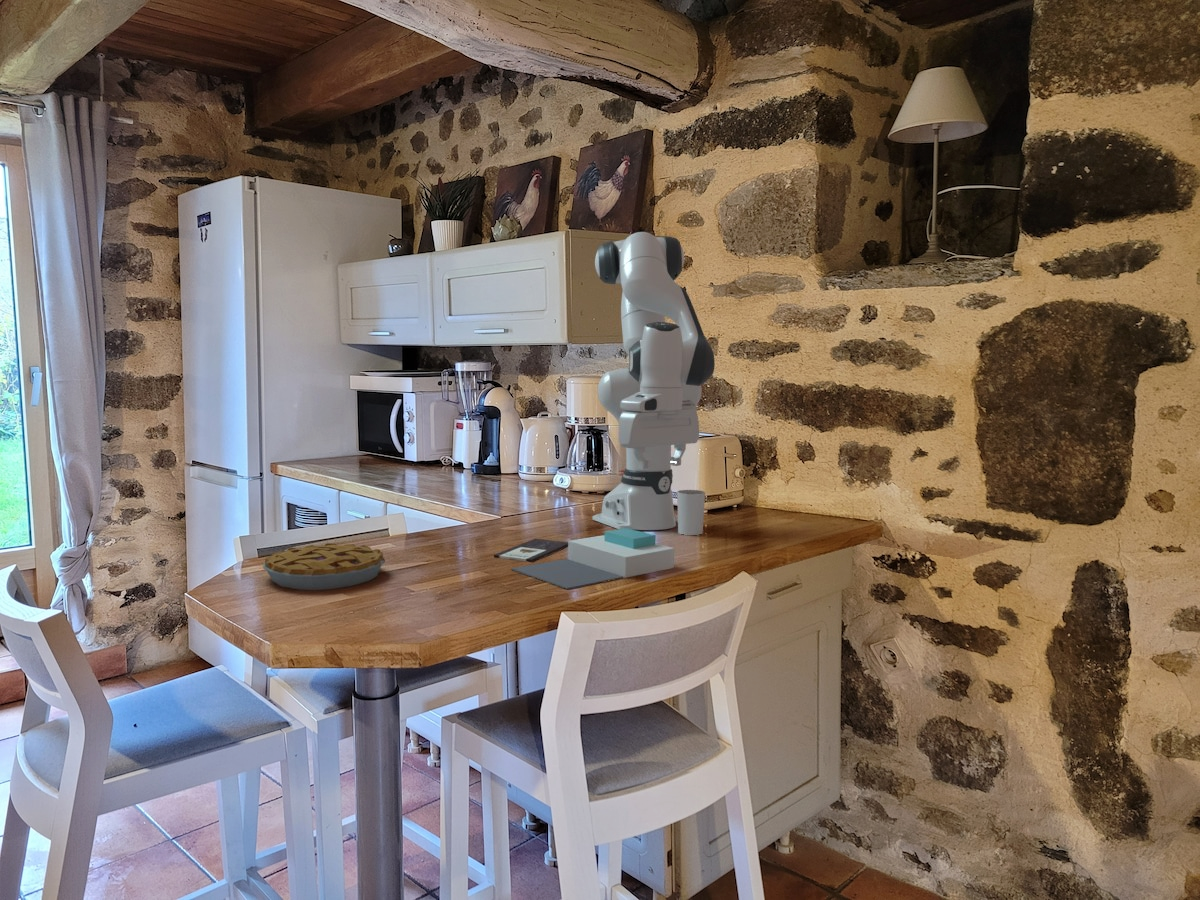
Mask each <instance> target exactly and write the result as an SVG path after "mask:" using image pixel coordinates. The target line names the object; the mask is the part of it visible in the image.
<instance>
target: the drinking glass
mask: <svg viewBox="0 0 1200 900" xmlns="http://www.w3.org/2000/svg"><path fill="white" fill-rule="evenodd" d="M676 496H677V527H678V528H677V533H678V535H681V534H684V535H683V536H687V535H697V536H700V535H699V534H702V535H703V528H704V517H705V516H704V515H705V501H706V500H705V499H706V492H705V491H703V490H698V489H682V490H681V489H680V490H677V493H676Z"/></svg>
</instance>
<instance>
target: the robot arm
mask: <svg viewBox="0 0 1200 900" xmlns="http://www.w3.org/2000/svg"><path fill="white" fill-rule="evenodd" d="M684 263H685V252H684V249H683V246H682V245H681V241H680V240H679V239H678V238H677V237H674V236H673V237H672V236H667V235H664V236H662V237H660V236H655V235H654V234H652V233H650V232H646V231H638V232H637V231H636V232H634V233H632V234H630V235H629V236H627V237H626V238H625V239H620V240H617V241H613V240H609V241H606V242H603V243H601V244H600V246H598V247H597V251H596V254H595V259H594V267H595V271H596V273H597V276H598V277H599V280H601V282H602V283H604V284H606V285H607V284H609V285H616V284H621V285H620V286H621V289H622V293H621V300H620V301H621V303H620V322H621V330H622V332H621V333H622V344H623V349H624V350H625V352H626V355H628V356H629V359H628V360H629V361H628V362H629V363H628V367H627V368H626V367H624V368H619V369H614V370H609V371H606V372H605V373H604V374H603V375H602V376H601V378H600V380H599V382H598V384H597V385H598V386H597V396H598V401H599V402H600V404H601V406H602V407H603V408H604V409H605V410H606V411H608V412H609V413H610V414H611V415H612V416H613V417H614V418H615V419H616V420H617V422H618V443H619V446H621V447H622V448H625V455H626V457H625V458H626V459H625V462H626V463H625V464H626V465H625V469H621V470H618V472H621V473H619V474H618V476H621V479H620V483H619V484H618V485H617V486H615V488H613V489H612V490H611V491H610V492H608V493H607V494H606V495H605V496H604V497H603V501H602V504H601V505H602V507H601V512H600V513H596V514H594V515H592V521H596V522H597V523H601V524H603V525H607V526H608V527H611V528H614V529H616V530H617V529H624V528H628V529H632V530H636V531H659V530H660V531H661V530H668V529H669V530H670V529H673V528H675V527H677V523H676V522H677V518H676V516H675V512H674V510H675V509H674V500H673V499H674V498H673V491H672V484H673V478H674V475H673V469H672V467H671V466H674V467H678V466H681V465H682V457H683V456H684V453H685V451H686V449H687V448H686V447H687V445H689V444H697V442H698V441H699V439H700V426H699V425H700V424H699V422H700V421H699V416H698V413H697V411H698V409H697V408H698V407H697V406H698V404H699V403H700V400H701V398H702V393H703V392H702V389H703V388H702V385H703V384H704V383H706V382H707V381H709V379H711V377H712V376H714V375H713V374H714V372H715V366H716V365H715V363H716V361H715V354H714V351H713V348H712V346H711V344H710V342H709V341H708V340H707V337H706V336H705V334H704V331H703V328H702V326H701V324H700V322H699V321H700V320H699V319H698V316H697V312H696V310H695V308H694V306H693V305H694V304H693V303H692V301H691V299H690V296H689V294H688V292H687V291H686V289H685V288H684V287H682V286H681V285H679V284H678V283H677V282H675V280H676V279H677V278H678V277H679V276H680V275H681V273H682V270H683V267H684ZM666 318H668V319H670V320H671V321H672V322H673V323H672V322H668V321H667V322H666ZM672 446H674V447H673V449H675V451H674V453H673V456H672Z"/></svg>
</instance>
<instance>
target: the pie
mask: <svg viewBox="0 0 1200 900" xmlns="http://www.w3.org/2000/svg"><path fill="white" fill-rule="evenodd" d="M385 562H386V559H385V557H384V552H382V551H381V550H380V549H377V548H375V549H372V548H371V547H370V546H368V545H365V544H363V545H360V546H356V545H355V544H353V543H352V544H344V545H338V544H336V543H325V545H320V546H317V545H313V544H312V545H311V544H309V545H306V546H305V547H301V548H296V547H288V548H287V550H285V551H282V552H281V551H277V552H275V553H271V555H270V556H266V557H265V559H264V561H263V566H262V568H263V570H265V571H266V572H267V574H268V575H269V577H270V579H271V580H272V582H273V583H275V584H277V585H278V586H279V587H283V588H288V589H293V590H300V591H301V590H304V591H305V590H306V591H321V590H334V589H339V588H340V589H341V588H346V587H351V586H357V585H359V584H363V583H366V582H370V581H372V580H373V579H374V578H376V577H378V574H379V573H380V570H381V567H382V566H383V564H384V563H385Z"/></svg>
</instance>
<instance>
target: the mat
mask: <svg viewBox="0 0 1200 900" xmlns="http://www.w3.org/2000/svg"><path fill="white" fill-rule="evenodd" d="M511 571H513V572H516V573H518V574H521V575H525V576H527V575H528V576H527V577H530V576H531V577H530V578H533V577H534V578H533V579H535V578H537V579H536V580H538V579H540V580H539V581H541V580H543V581H542V582H544V581H546V582H545V583H547V582H549V583H548V584H550V583H552V584H555V585H557V586H556V587H558V586H560V587H559V588H561V587H562V588H561V589H564V588H565V589H564V590H566V589H568V590H572V589H576V588H582V587H586V586H592V585H597V584H600V583H599V582H602V583H605V582H604V581H607V582H609V581H608V580H612V581H614V580H613V579H617V580H621V579H624V577H623V576H620V575H617V574H613V573H610V572H607V571H604V570H601V569H597V568H594V567H591V566H588V565H585V564H581V563H578V562H575V561H572V560H569V559H568V558H563V559H558V560H551V561H545V562H541V563H540V562H539V563H535V564H528V565H523V566H518V567H513V568H511ZM620 578H621V579H620ZM596 583H597V584H596ZM552 584H551V585H552ZM591 584H592V585H591ZM555 585H554V586H555Z"/></svg>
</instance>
